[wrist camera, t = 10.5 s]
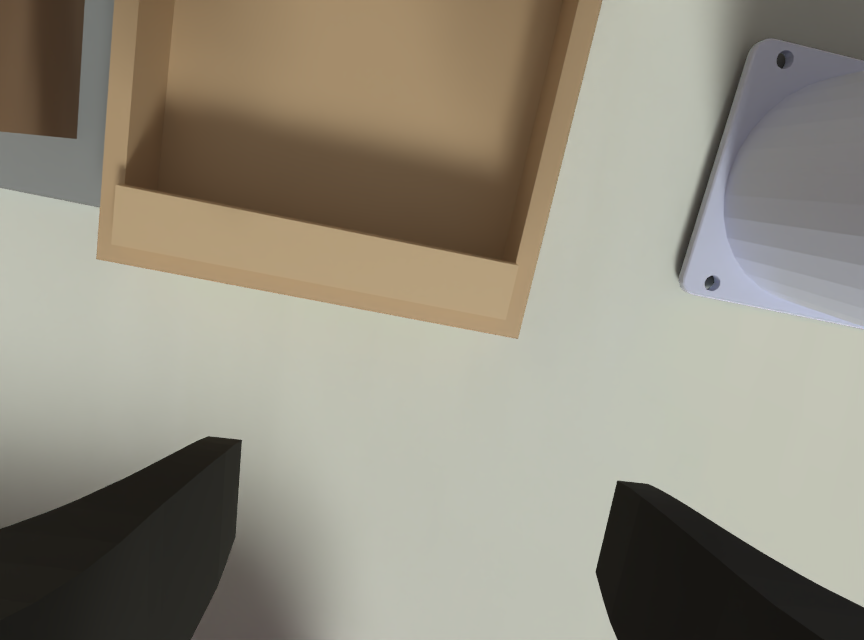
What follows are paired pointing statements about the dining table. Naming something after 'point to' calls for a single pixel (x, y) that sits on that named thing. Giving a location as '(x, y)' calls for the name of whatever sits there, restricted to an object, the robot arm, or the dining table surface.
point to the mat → (83, 157)
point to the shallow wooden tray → (343, 147)
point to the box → (40, 66)
